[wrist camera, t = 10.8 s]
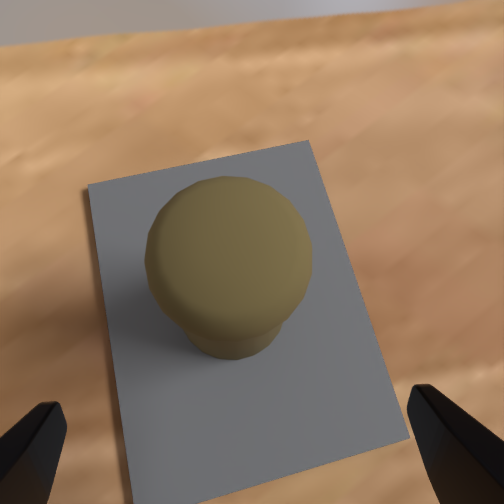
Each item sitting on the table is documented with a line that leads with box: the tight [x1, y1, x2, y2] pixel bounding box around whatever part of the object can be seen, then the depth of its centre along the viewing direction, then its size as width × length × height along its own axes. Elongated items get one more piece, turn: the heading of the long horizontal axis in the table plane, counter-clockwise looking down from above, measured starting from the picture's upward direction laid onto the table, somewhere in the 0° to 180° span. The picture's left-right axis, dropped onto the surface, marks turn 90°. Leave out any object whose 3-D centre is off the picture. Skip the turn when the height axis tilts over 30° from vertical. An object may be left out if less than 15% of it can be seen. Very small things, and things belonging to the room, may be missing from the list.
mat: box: [88, 140, 410, 504], centre depth 21 cm, size 18×14×1 cm
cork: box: [144, 176, 312, 360], centre depth 15 cm, size 6×6×11 cm
